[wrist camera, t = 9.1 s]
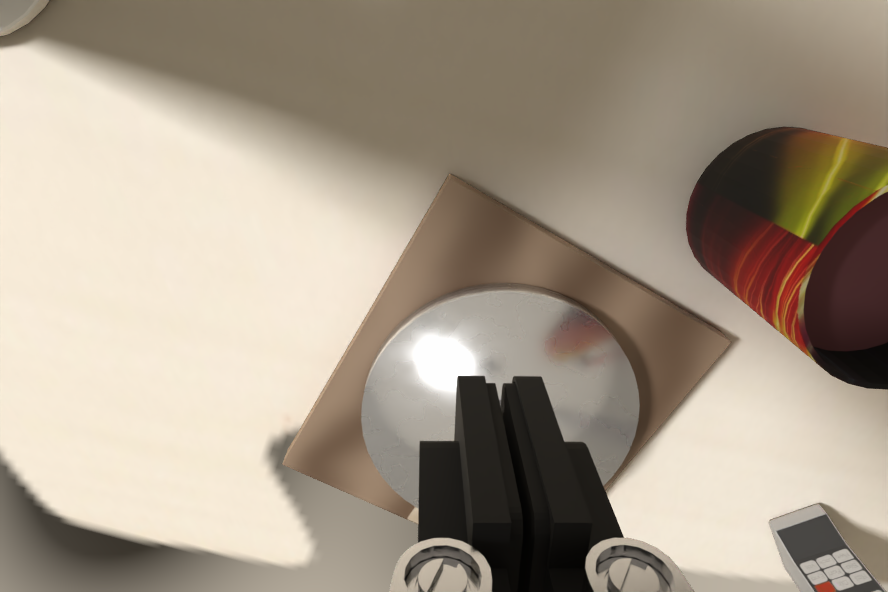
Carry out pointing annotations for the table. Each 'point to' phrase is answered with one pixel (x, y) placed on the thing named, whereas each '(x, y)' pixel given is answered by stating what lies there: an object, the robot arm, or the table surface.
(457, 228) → the base board
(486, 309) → the dial
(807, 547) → the vintage mobile phone
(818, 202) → the mug
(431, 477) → the robot arm
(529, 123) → the table surface
